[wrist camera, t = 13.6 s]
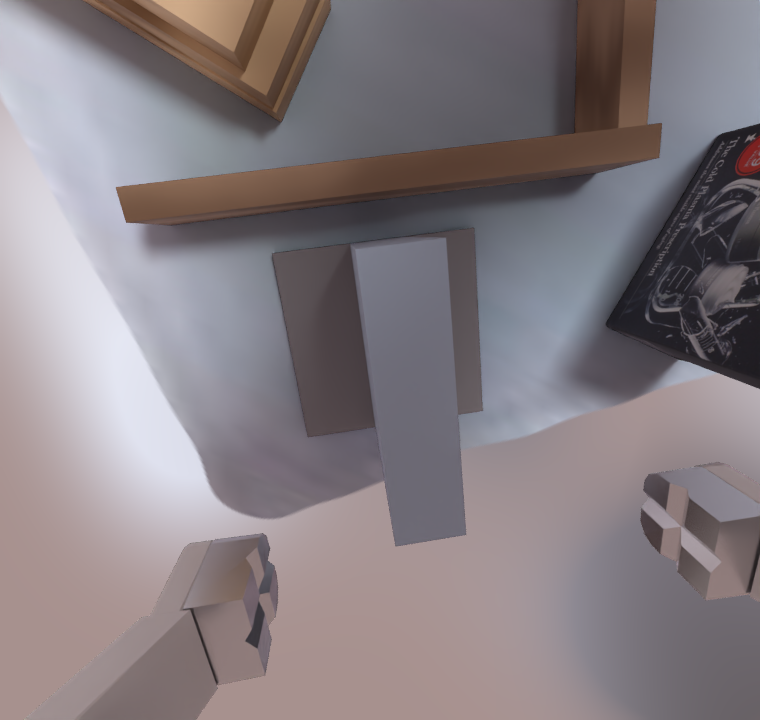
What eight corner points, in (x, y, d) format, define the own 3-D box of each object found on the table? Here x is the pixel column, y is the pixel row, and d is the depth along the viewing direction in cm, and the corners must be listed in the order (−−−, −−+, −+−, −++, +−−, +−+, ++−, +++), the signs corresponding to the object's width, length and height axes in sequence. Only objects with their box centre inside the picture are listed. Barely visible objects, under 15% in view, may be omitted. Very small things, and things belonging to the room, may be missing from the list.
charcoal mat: (274, 253, 24) (271, 253, 23) (470, 228, 25) (474, 227, 24) (308, 431, 28) (307, 437, 27) (478, 406, 28) (482, 410, 28)
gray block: (349, 243, 24) (355, 249, 13) (400, 236, 24) (446, 237, 13) (375, 426, 27) (395, 546, 17) (419, 420, 27) (466, 534, 17)
